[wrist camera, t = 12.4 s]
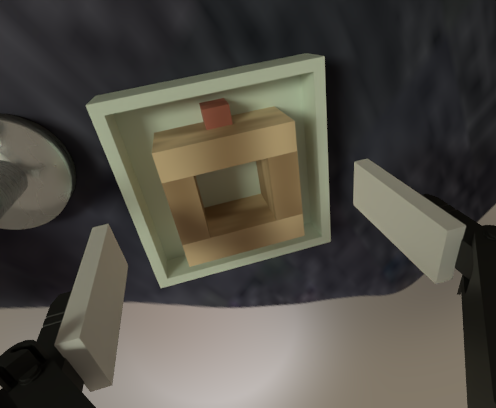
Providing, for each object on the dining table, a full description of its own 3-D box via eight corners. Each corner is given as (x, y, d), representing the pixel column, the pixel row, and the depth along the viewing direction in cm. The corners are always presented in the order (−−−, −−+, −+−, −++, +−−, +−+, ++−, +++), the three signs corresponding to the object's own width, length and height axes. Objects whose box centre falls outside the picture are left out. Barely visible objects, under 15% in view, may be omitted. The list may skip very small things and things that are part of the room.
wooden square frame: (186, 233, 24) (189, 266, 21) (148, 114, 20) (144, 131, 16) (286, 207, 25) (304, 235, 22) (271, 87, 21) (292, 99, 17)
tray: (95, 95, 19) (85, 105, 17) (306, 53, 21) (324, 56, 18) (161, 264, 26) (160, 288, 24) (316, 223, 27) (330, 241, 25)
